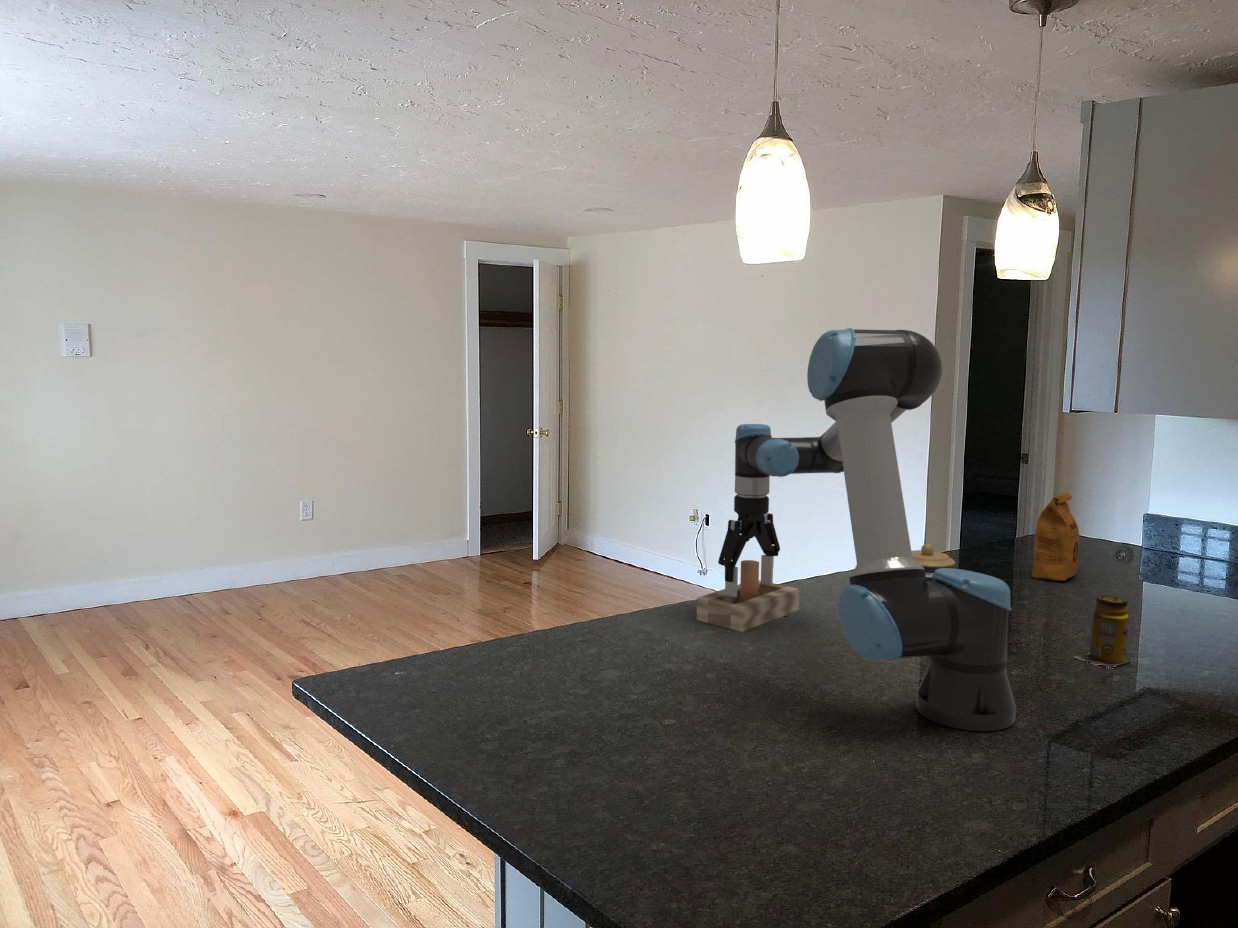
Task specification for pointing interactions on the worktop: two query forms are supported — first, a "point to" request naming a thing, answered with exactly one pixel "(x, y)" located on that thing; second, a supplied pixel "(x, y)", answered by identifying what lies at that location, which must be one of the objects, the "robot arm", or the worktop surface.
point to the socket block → (747, 607)
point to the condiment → (1108, 631)
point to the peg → (749, 580)
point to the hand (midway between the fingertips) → (749, 589)
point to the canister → (931, 560)
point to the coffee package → (1056, 541)
